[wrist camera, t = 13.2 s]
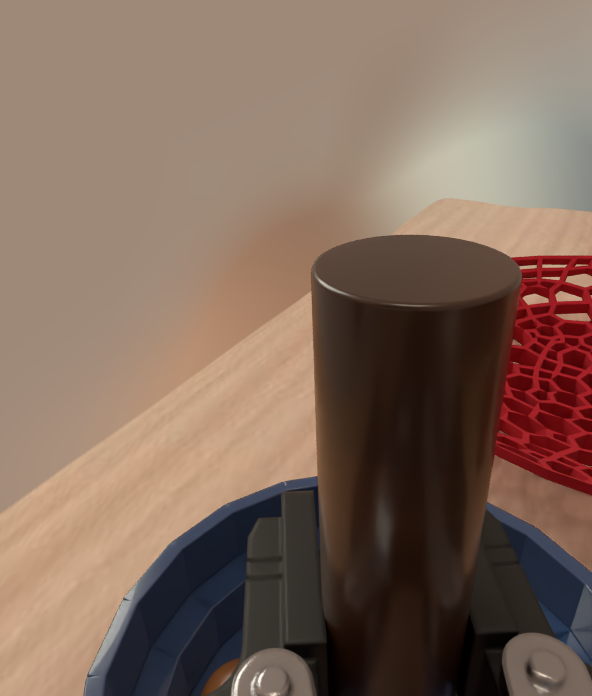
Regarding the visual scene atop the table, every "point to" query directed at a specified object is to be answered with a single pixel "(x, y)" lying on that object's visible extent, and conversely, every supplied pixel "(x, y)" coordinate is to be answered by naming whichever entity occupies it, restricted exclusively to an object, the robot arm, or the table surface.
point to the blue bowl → (229, 594)
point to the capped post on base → (405, 450)
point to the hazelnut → (219, 676)
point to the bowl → (550, 378)
